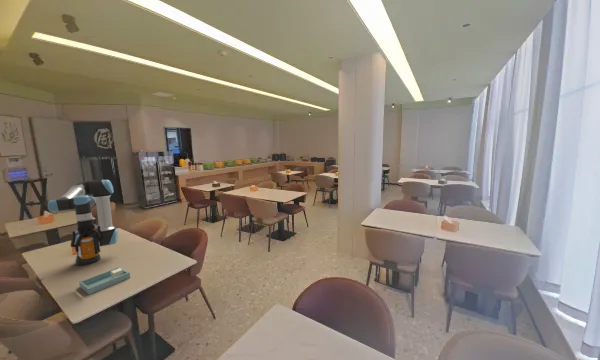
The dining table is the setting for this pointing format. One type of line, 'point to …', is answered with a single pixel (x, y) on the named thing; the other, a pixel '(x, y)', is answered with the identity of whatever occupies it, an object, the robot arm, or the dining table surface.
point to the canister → (89, 246)
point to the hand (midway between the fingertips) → (89, 253)
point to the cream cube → (116, 273)
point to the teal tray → (102, 281)
